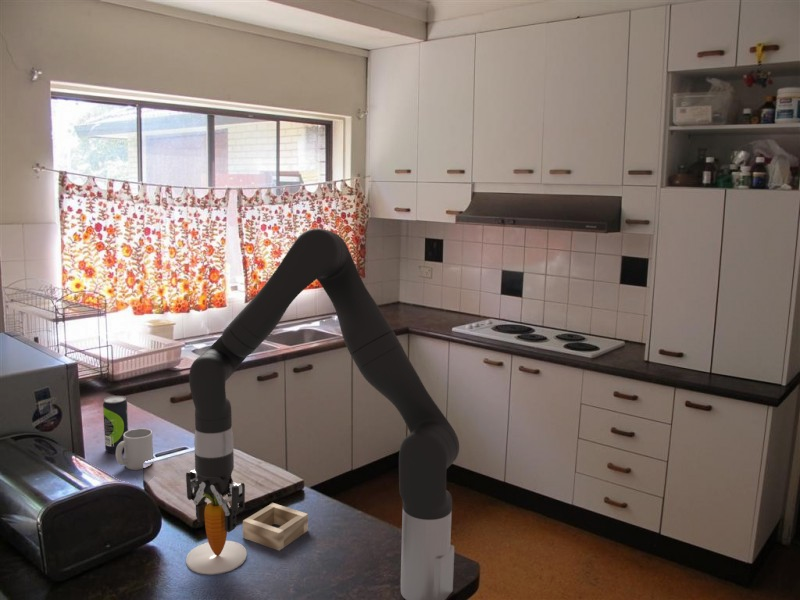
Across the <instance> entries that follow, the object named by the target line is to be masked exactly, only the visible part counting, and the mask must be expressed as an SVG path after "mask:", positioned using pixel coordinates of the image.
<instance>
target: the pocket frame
mask: <svg viewBox="0 0 800 600" xmlns="http://www.w3.org/2000/svg"><path fill="white" fill-rule="evenodd" d="M274 524H275V525H277V526H279V527H276V526H273V525H274ZM308 524H309V514H308V513H306V512H302V511H301V510H296V509H293V508H290V507H287V506H284V505H280V504H278V503H274V502H271V503H270V504H269V505H267V506H265V507H264V508H261V509H260V510H258V511H257V512H255V513H253V514H252V515H250V516H248V517H247V518H245V519H243V520H242V538H243V539H246V540H248V541H251V542H253V543H257V544H259V545H262V546H265V547H268V548H270V549H274V550H276V551H278V552H279V551H281V550H282V549H284V548H285V547H287V546H289V544H291V543H293V542H294V541H296V540H297V539H298V538H300V537H301V536H302V535H304V534H305V533H307V532H308V531H309V525H308Z"/></svg>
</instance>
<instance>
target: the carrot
mask: <svg viewBox="0 0 800 600" xmlns="http://www.w3.org/2000/svg"><path fill="white" fill-rule="evenodd" d="M204 497H206V498H207V499H208V500H209V501H210V503H207V505H206V506H205V513H204V515H205V520H204V525H205V527H204V528H205V533H206V538H207V541H208V542H209V545H210V547H211V549H212V551H213V552H214V554H215V555H217V556H219V555H220V554H221V552H222V550H223V548H224V545H225V542H226V541H227V534H228V532H227V531H225V515H226V514H225V512H224V510H223V507H222V506H220V505H219V503H218V501H217V499H216V497H215V494H214V498H213V497H211V496H210V495H208V494H204Z"/></svg>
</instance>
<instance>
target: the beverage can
mask: <svg viewBox="0 0 800 600" xmlns="http://www.w3.org/2000/svg"><path fill="white" fill-rule="evenodd" d="M126 399H127V398H126V396H124V395H112V396H109V397H105V398H104V399H103V404H102V410H103V426H104V427H103V431H104V448H105V450H106V452H108V453H110V454H116V448H117V445H118V444H119V443H120V442H122V441H124V436H123V435H124V433H125V432H127V431H129V417H128V416H129V415H128V413H129V412H128V401H127V400H126ZM122 453H124V447H123V449H122Z"/></svg>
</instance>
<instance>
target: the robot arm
mask: <svg viewBox="0 0 800 600" xmlns="http://www.w3.org/2000/svg"><path fill="white" fill-rule="evenodd" d="M356 266H357V265H356V264H355V261H354V260H353V257H352V254H351V252H350V249H349V248H348V245H347V243H346V242H345V241H344V239H343V238H342V237H341V236H340V235H339V234H338V233H335V232H333V231H331V230H328V229H323V228H316V227H315V228H310V229H307V230H304V231H303V232H301V234H300V235H298V237H297V238H296V239H295V241H294V242H293V243H292V245H291V246H290V248H289V249H288V251H287V253H286V254H285V255H284V257H283V258H282V260H281V262H280V263H279V265H278V266H277V268H276V269H275V271H273V273H272V274H271V276H270V277H269V278H268V280H267V281H266V282H265V284H264V285H263V286H262V288H261V289H260V290H259V291H258V292H257V293H256V294H255V296H254V297H253V298H252V299H251V301H249V303H247V305H246V306H245V307H244V308H243V309H242V310H241V311H240V312H239V313H238V314H237V315H236V316H235V318H233V320H231V322H230V323H229V324H228V325H227V326H226V327H225V329H224V330H223V332H222V333H221V335H220V337H218V339H216V340H215V341H214V343H212V345H211V346H209V347H208V348H207V349H206V350H205V351H204V352H203V353H201V355H199V356H198V357H197V358H196V359H195V360H194V361H193V362H192V364H191V365H190V368H189V377H188V383H189V388H190V394H191V398H192V399H191V400H192V402H193V404H194V408H195V409H194V425H195V428H194V431H195V432H194V438H193V439H194V469H191V470H189V471H187V472H186V473H185V479H186V480H185V482H186V483H185V484H186V498H187V500H189V501H193V504H194V505H195V517H196V521H197V522H199V523H202V522H205V515H204V513H205V506H206V505H207V504H208V502H207V501H206V500H207V499H208V498H206V497H204V494H208V495H210V496H211V497H213V498H214V494H215V497H216V499H217V501H218V503H219V505H220V506H222V507H223V510H224V512H225V514H226V515H225V531H227V533H230V532H232V531H234V529H236V527H237V515H238V514H239V513H241V512H243V511H244V510H245V509H246V508H245V504H246V503H245V502H246V501H245V499H246V491H245V490H246V486H245V483H244V482H242V481H241V482H239V483H236V482H234V480H233V477H232V473H233V470H234V468H235V464H234V463H235V461H234V460H235V459H234V456H235V455H234V433H233V427H232V424H233V423H232V422H233V421H232V419H233V418H232V415H233V414H232V405H231V402H230V400H229V399H228V398H227V394H226V393H227V392H226V381H227V380H228V379H229V378H230V377H232V375H233V374H234V373H235V371H236V370H237V369H238V368H239V367H240V366H241V365H242V363H243V362H244V361H245V360H246V358H248V357H249V355H251V354H253V352H254V351H256V350H257V348H258V347H259V346H260V345H261V344H262V343H263V342H264V341H265V340H266V339H267V338H268V337H269V335H270V334H272V332H273V331H274V329H275V328H276V327H277V326H278V325H279V323H280V321H281V320H282V318H283V317H284V314H285V313H286V311H287V310H288V308H289V307H290V305H291V304H292V303H293V301H294V300H295V299H296V297H298V296H299V295H300V294H301V293H302V292H303V291H304V290H305V289H307V288H308V287H309V286H310V285H312V284H313V283H314V282H315V281H318V283H319V284H320V286H321V287H322V288H323V290H324V292H325V293H326V295H327V296H328V298H329V300H330V302H331V304H332V305H333V308H334V310H335V312H336V316H337V320H338V323H339V324H338V325H339V327H340V328H339V329H340V331H341V335H342V339H343V341H344V344H345V346H346V348H347V350H348V353H349V355H351V358H352V359H353V361H354V363H355V365H356V367H357V369H358V371H359V372H360V373H361V375H362V377H363V378H364V379H365V380H366V381H367V383H369V385H371V386H372V387H373V388H374V389H375V390H376V391H378V393H380V394H381V395H382V396H384V397H385V398H386V399H387V400H388V401H389V402H390V403H392V405H393V406H394V407H395V408H396V410H397V411H398V412H399V414H400V416H401V417H402V419H403V420H404V423H405V424H406V427H407V429H408V430H409V432H410V433H409V434H408V435H407V436H405V438H404V439H403V440H402V442H401V445H400V447H399V453H398V489H399V496H400V497H401V500H402V516H401V517H402V520H401V521H402V522H401V524H402V525H401V559H400V581H399V582H400V594H401V596H402V598H403V599H405V600H447V598H448V597H449V596H450V595H451V594H452V593H453V592H454V591H453V590H454V571H455V569H454V566H455V565H454V563H455V546H454V545H453V544H451V538H452V537H451V535H452V534H451V533H452V516H453V515H452V511H453V510H452V509H453V498H452V497H453V496H452V494H451V493H450V491H449V490H447V469H449V467H451V465H452V464H453V463H454V462H455V461H456V460H457V458H458V455H459V452H460V442H459V441H460V440H459V438H458V435H457V433H456V432H455V430H454V428H453V426H452V425H451V423H450V422H449V421H448V419H447V418H446V416H445V415H444V413H443V412H442V410H441V409H440V408H439V407H438V405H437V404H436V402H435V401H434V400H433V398H432V396H431V395H430V394H429V392H428V391H427V389H426V386H424V383H423V382H422V380H421V378H420V376H419V375H418V373H417V371H416V369H415V367H414V366H413V364H412V363H411V361H410V359H409V357H408V356H407V353H406V352H405V350H404V348H403V346H402V343H401V342H400V340H399V338H398V336H397V335H396V333H395V331H394V330H393V328H392V326H391V324H389V322H388V320H387V319H386V317H385V315H384V314H383V312H382V311H381V309H380V307H379V306H378V304H377V303H376V301H375V299H374V298H373V296H372V295H371V294H370V292H369V291H368V289H367V287H366V285H365V284H364V281H363V279H362V277H361V275H360V272H359V270H358V269H357V267H356ZM226 496H227V498H224V497H226ZM228 503H229V504H228Z"/></svg>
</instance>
